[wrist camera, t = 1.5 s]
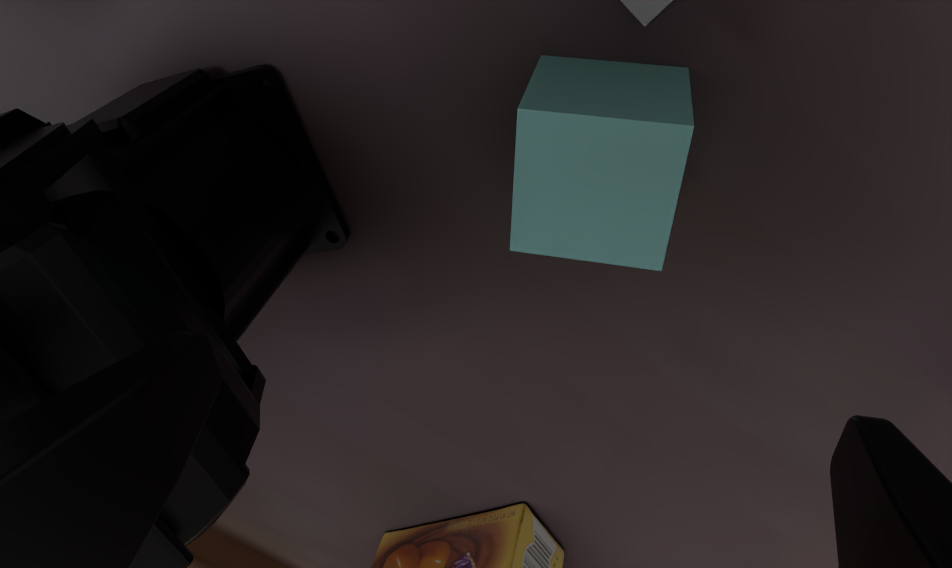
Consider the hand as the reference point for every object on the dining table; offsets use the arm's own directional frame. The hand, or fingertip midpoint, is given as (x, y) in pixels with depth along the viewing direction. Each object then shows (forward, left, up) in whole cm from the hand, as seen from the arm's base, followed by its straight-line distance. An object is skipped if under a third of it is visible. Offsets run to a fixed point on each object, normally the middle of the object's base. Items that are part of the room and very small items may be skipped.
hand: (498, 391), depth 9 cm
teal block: (-1, 0, -12) cm, 12 cm away
